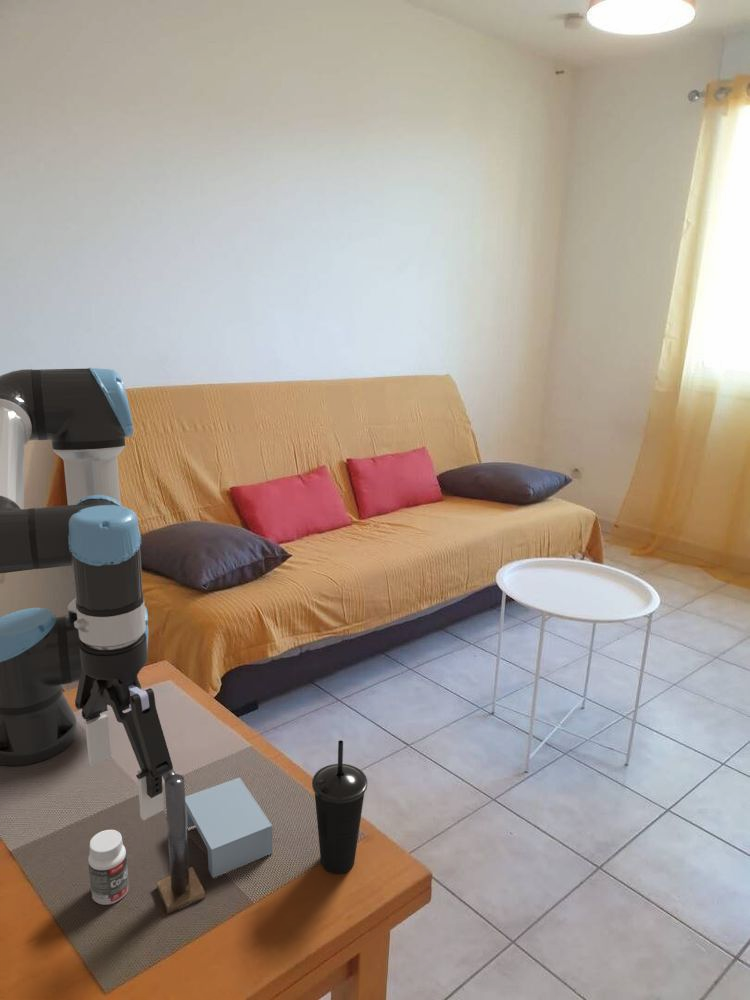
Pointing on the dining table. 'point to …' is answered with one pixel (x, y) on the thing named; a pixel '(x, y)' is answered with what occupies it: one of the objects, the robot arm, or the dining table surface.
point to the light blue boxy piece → (229, 825)
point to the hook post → (178, 850)
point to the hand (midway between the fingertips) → (125, 786)
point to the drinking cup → (338, 812)
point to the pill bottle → (108, 867)
